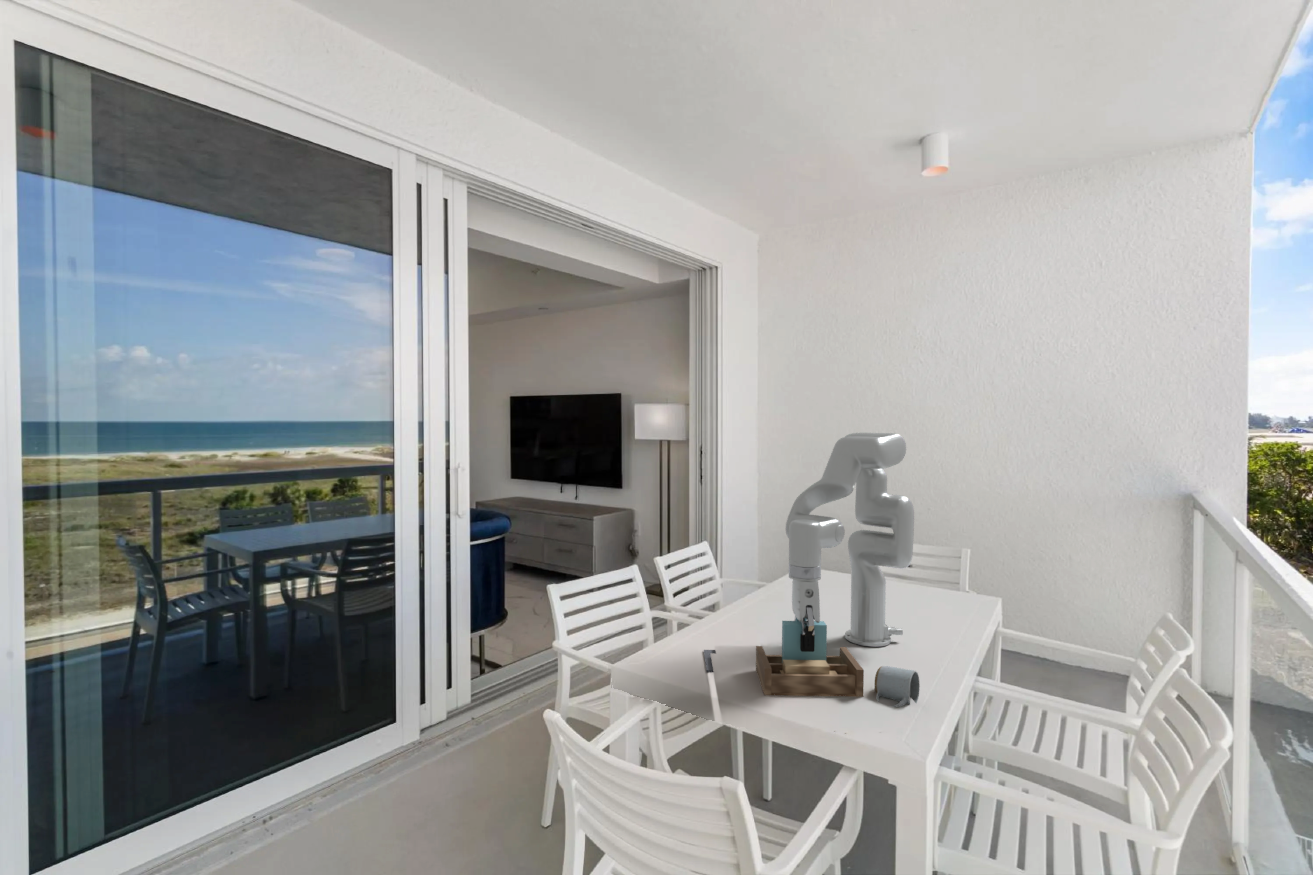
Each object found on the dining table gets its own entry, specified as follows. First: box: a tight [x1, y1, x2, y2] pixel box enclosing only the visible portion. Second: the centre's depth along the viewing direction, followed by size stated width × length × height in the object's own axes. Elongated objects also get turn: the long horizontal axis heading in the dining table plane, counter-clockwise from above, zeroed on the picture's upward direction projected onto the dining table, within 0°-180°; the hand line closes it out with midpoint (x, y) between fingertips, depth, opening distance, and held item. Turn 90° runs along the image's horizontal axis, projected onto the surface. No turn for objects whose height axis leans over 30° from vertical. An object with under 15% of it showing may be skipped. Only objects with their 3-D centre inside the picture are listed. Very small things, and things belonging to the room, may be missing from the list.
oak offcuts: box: [779, 660, 837, 674], centre depth 142 cm, size 13×4×6 cm, turn 89°
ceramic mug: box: [874, 665, 921, 708], centre depth 137 cm, size 11×8×8 cm
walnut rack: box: [755, 645, 865, 698], centre depth 145 cm, size 22×14×8 cm, turn 89°
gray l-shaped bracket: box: [703, 649, 717, 673], centre depth 161 cm, size 16×14×1 cm
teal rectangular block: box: [781, 620, 828, 663], centre depth 148 cm, size 10×3×13 cm, turn 89°
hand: (804, 645), depth 148 cm, fingers open, 6 cm apart
